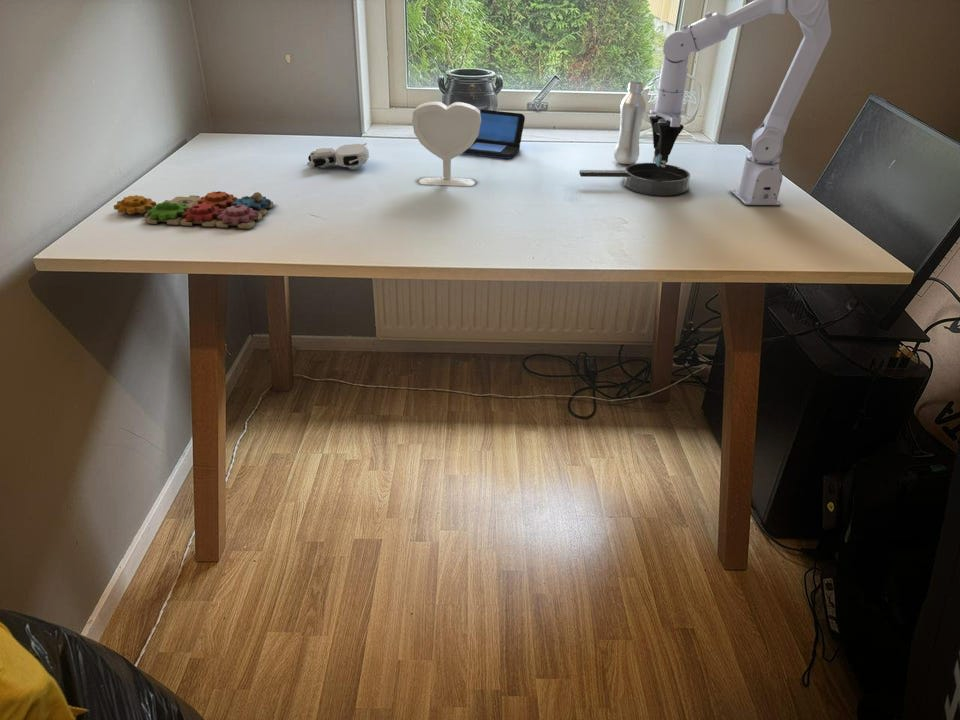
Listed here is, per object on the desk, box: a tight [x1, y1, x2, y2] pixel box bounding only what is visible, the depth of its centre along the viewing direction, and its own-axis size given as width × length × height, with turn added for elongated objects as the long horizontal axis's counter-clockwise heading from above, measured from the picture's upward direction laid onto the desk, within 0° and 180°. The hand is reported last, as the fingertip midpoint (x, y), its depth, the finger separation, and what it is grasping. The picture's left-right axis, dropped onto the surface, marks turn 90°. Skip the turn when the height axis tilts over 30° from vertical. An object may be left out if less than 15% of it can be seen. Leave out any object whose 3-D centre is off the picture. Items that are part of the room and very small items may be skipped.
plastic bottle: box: [613, 81, 647, 165], centre depth 176 cm, size 6×7×20 cm
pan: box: [623, 162, 691, 197], centre depth 165 cm, size 15×15×4 cm
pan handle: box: [579, 169, 627, 178], centre depth 163 cm, size 2×11×1 cm, turn 93°
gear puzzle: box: [113, 190, 274, 230], centre depth 142 cm, size 31×16×4 cm, turn 85°
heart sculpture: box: [411, 100, 481, 187], centre depth 160 cm, size 16×5×18 cm, turn 88°
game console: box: [462, 108, 526, 160], centre depth 187 cm, size 16×13×9 cm
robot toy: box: [306, 143, 370, 170], centre depth 173 cm, size 12×4×15 cm
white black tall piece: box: [652, 118, 669, 167], centre depth 160 cm, size 7×5×10 cm
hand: (661, 151), depth 161 cm, fingers closed on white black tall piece, 5 cm apart
